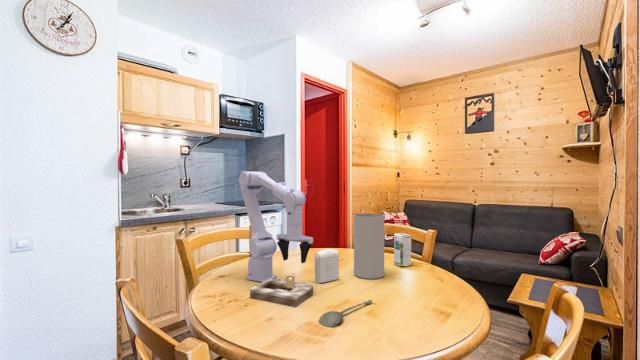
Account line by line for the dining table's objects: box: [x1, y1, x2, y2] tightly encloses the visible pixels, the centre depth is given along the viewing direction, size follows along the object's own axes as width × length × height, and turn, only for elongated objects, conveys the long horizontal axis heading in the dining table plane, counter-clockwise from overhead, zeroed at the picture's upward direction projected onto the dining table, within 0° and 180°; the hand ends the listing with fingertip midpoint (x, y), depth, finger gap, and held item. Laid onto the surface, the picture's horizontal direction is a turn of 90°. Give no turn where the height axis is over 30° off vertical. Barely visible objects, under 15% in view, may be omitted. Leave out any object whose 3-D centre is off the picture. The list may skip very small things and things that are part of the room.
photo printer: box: [314, 248, 340, 284], centre depth 122 cm, size 10×4×12 cm, turn 123°
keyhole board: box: [249, 278, 314, 308], centre depth 107 cm, size 18×12×3 cm, turn 64°
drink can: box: [393, 232, 412, 267], centre depth 143 cm, size 6×6×14 cm
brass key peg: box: [285, 275, 295, 291], centre depth 106 cm, size 5×5×6 cm
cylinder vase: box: [353, 212, 385, 280], centre depth 129 cm, size 12×12×25 cm
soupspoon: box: [318, 299, 373, 329], centre depth 93 cm, size 22×3×7 cm
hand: (294, 261), depth 114 cm, fingers open, 7 cm apart
